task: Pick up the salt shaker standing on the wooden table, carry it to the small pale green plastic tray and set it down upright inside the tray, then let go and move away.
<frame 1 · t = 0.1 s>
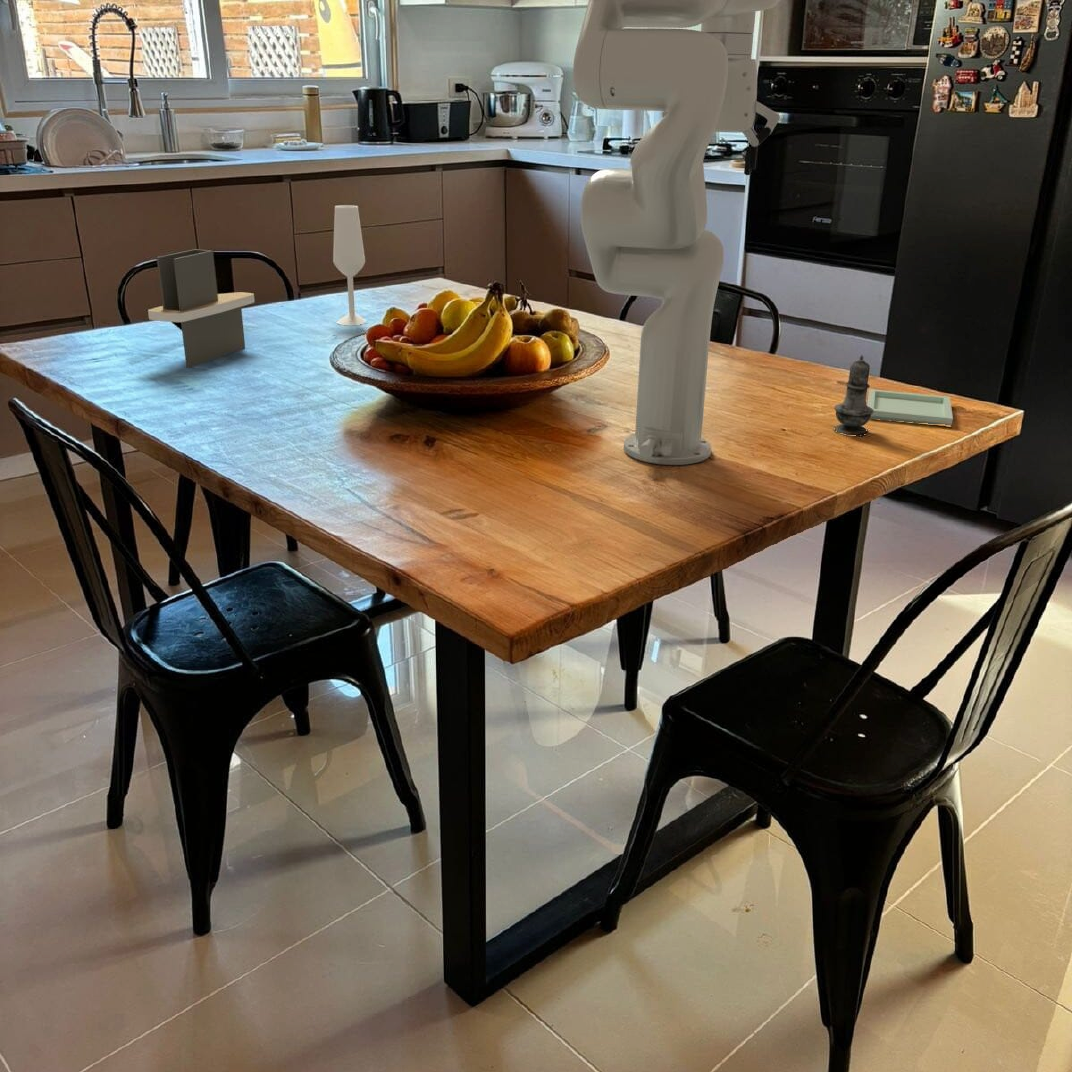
hand: (715, 172, 159), 37 cm above the table, tool pointing down, fingers open, 9 cm apart
architectural model: (209, 359, 198), on the table
champagne flute: (352, 323, 227), on the table
salt shaker: (850, 432, 163), on the table
tray: (907, 412, 173), on the table
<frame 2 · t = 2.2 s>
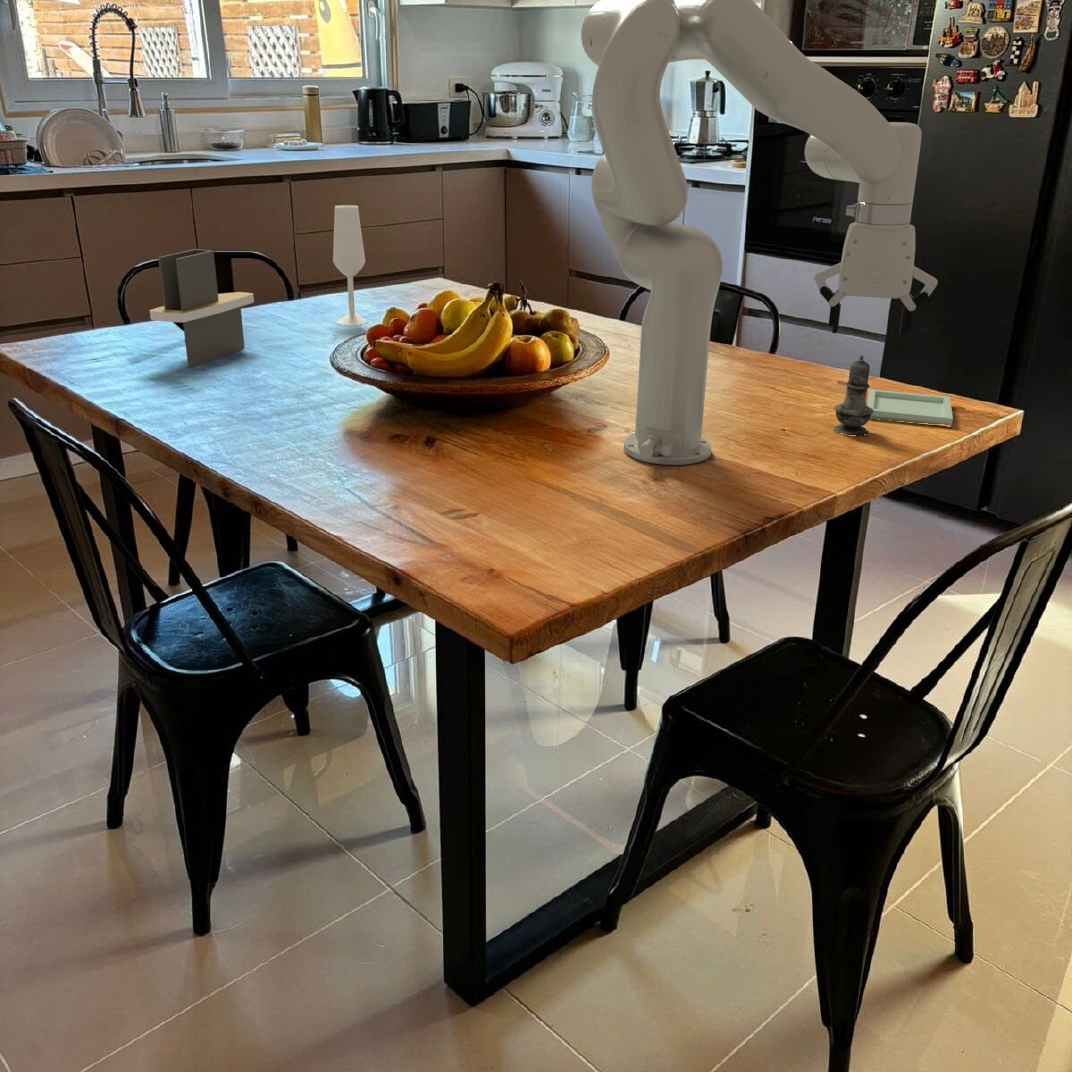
hand: (868, 333, 157), 15 cm above the table, tool pointing down, fingers open, 9 cm apart
nothing on the table moved.
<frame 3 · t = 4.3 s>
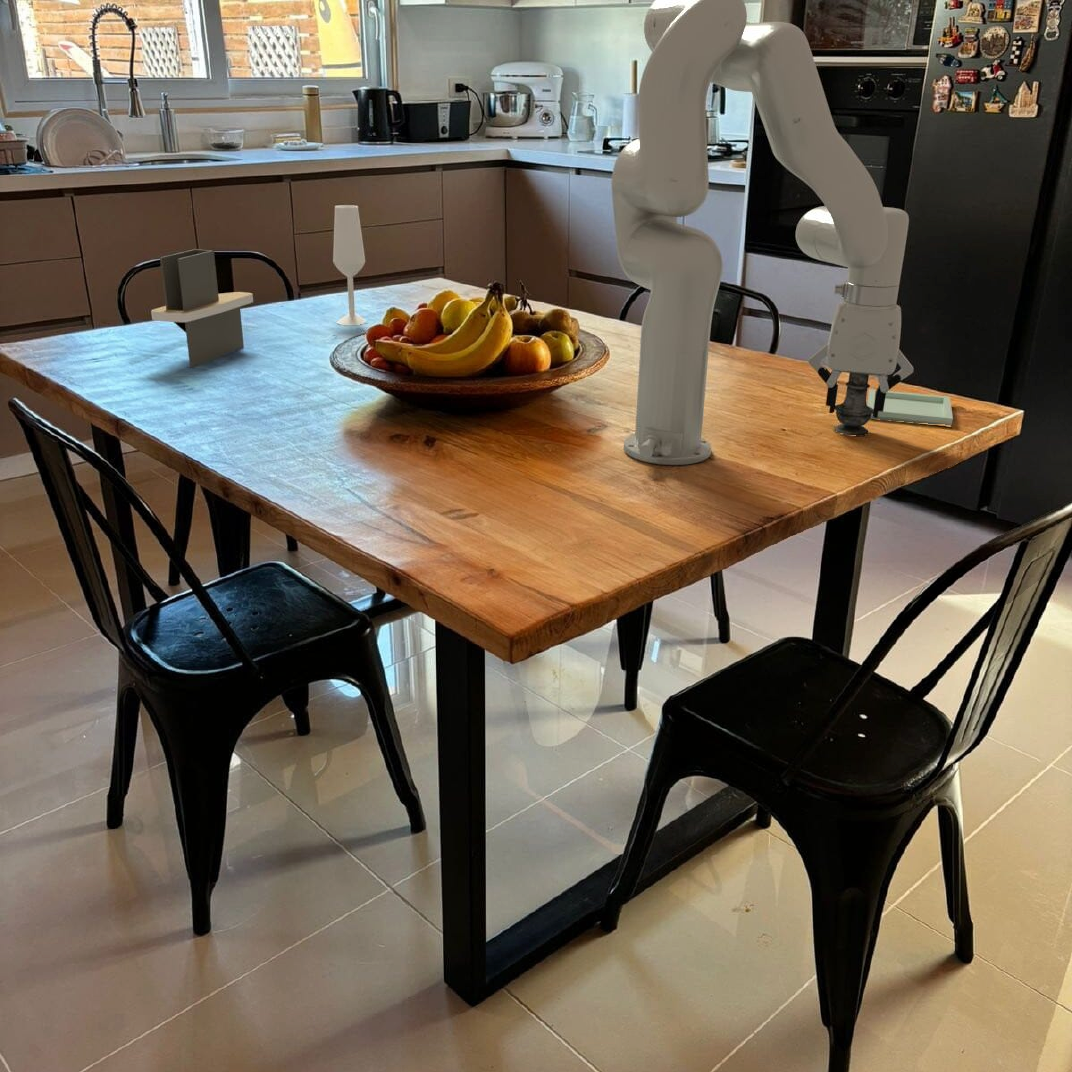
hand: (853, 411, 162), 3 cm above the table, tool pointing down, fingers closed on salt shaker, 5 cm apart
salt shaker: (850, 432, 163), on the table, touching gripper
everything else where it was.
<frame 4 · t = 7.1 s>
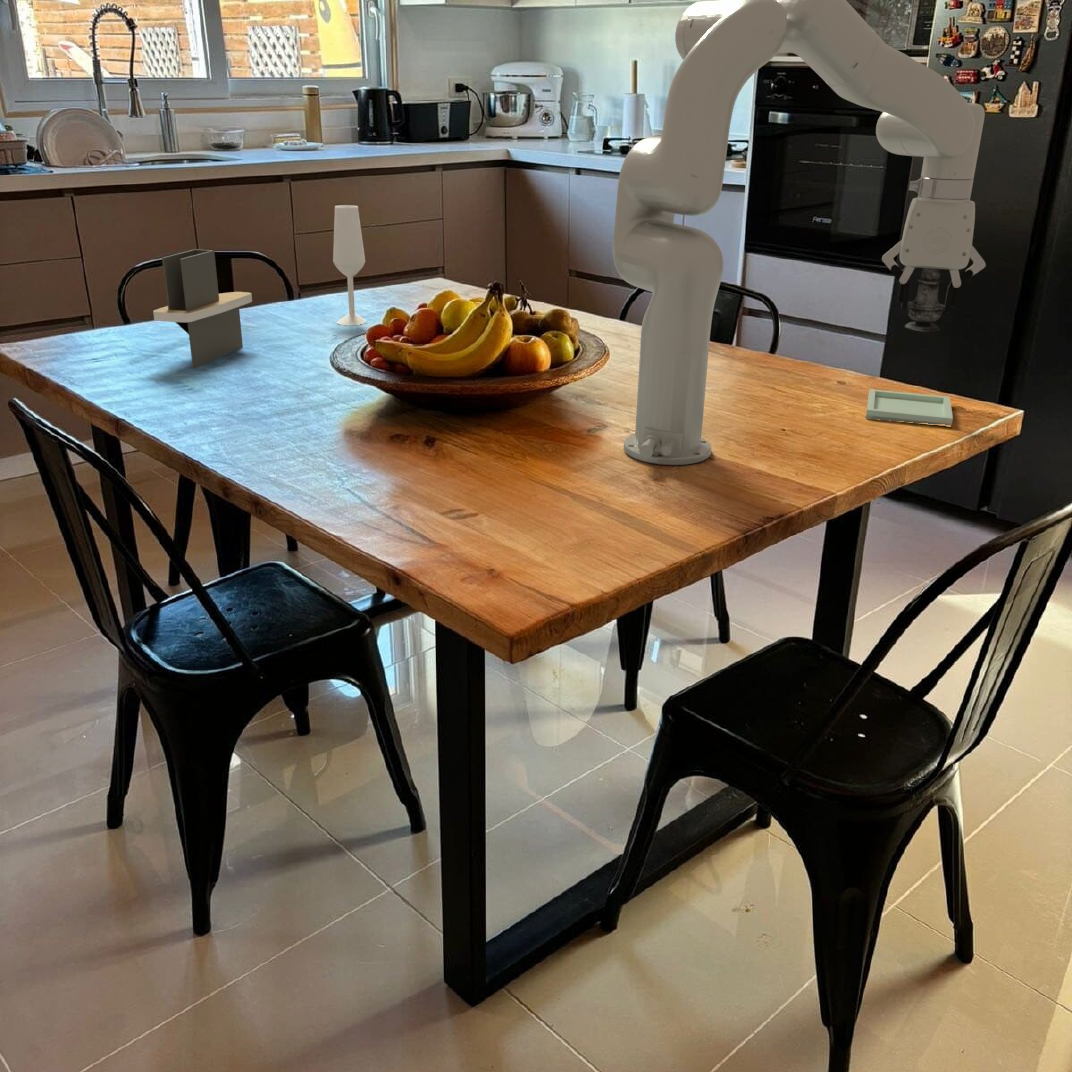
hand: (925, 308, 166), 17 cm above the table, tool pointing down, fingers closed on salt shaker, 5 cm apart
salt shaker: (921, 329, 168), point 14 cm above the table, touching gripper
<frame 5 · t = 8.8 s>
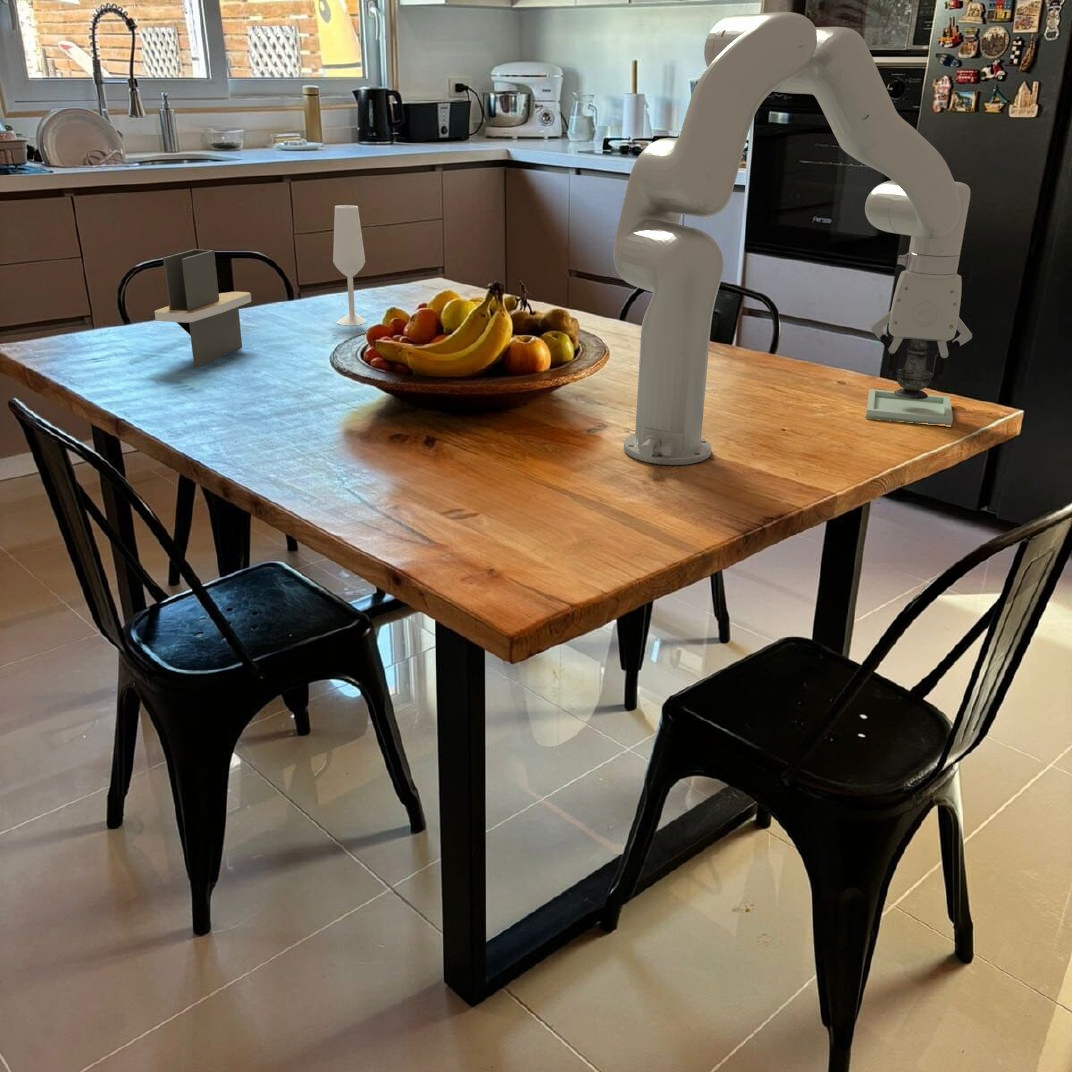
hand: (913, 376, 171), 6 cm above the table, tool pointing down, fingers closed on salt shaker, 5 cm apart
salt shaker: (910, 396, 172), point 3 cm above the table, touching gripper
when the fingers open (4 cm above the table, at t = 10.1 s): salt shaker stays where it is, resting on tray.
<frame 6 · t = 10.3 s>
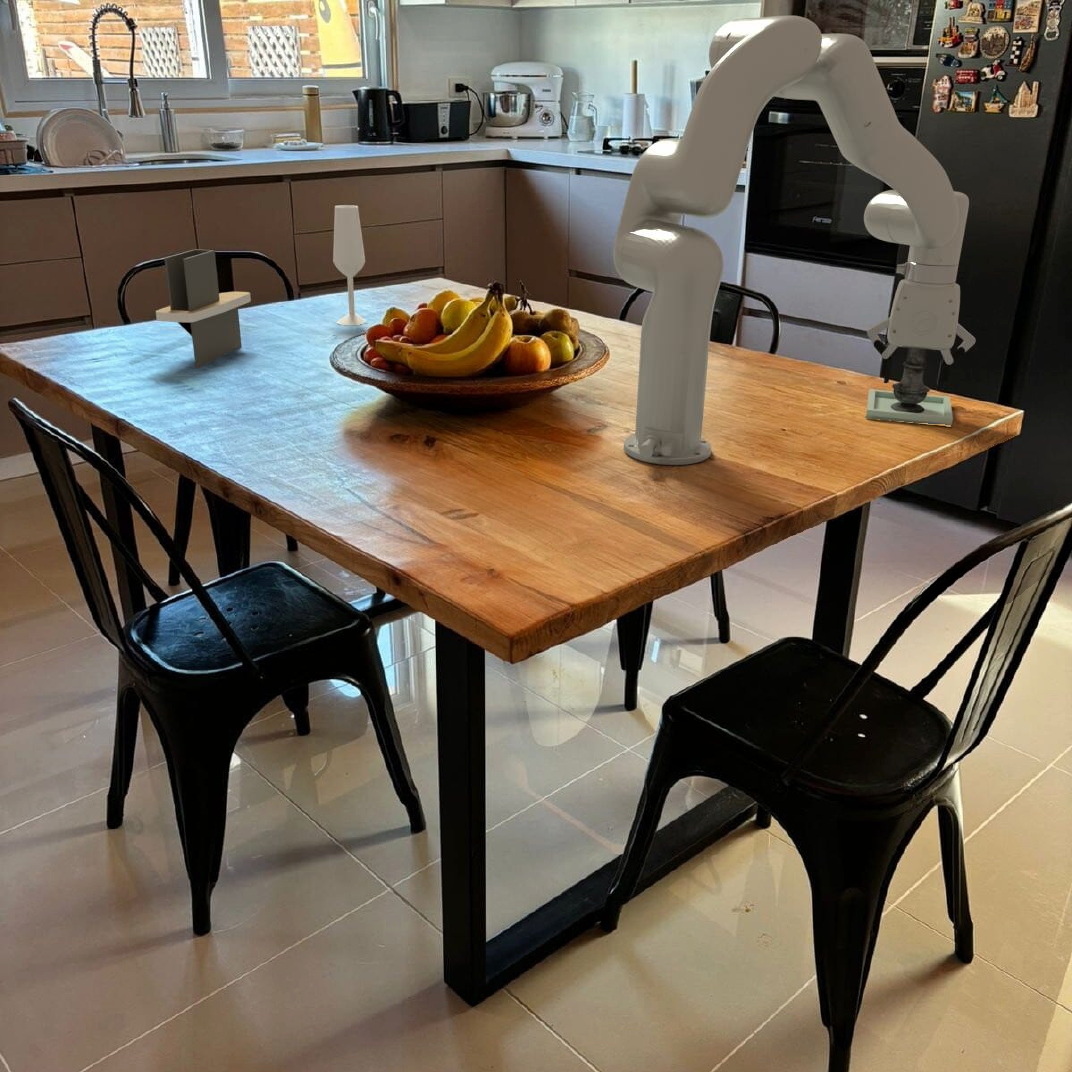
hand: (912, 383, 171), 5 cm above the table, tool pointing down, fingers open, 7 cm apart
salt shaker: (907, 409, 173), resting on tray
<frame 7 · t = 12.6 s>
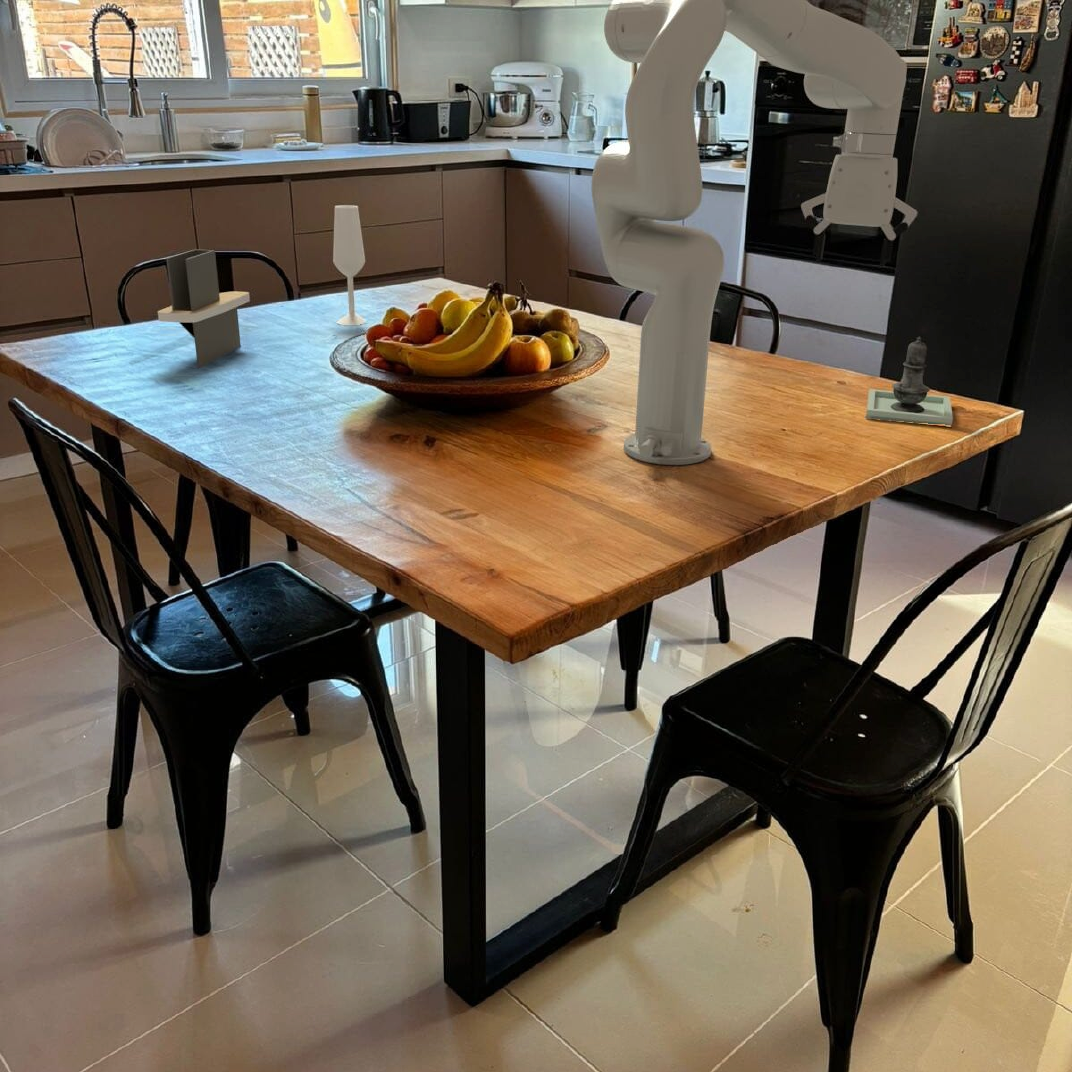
hand: (850, 262, 165), 24 cm above the table, tool pointing down, fingers open, 9 cm apart
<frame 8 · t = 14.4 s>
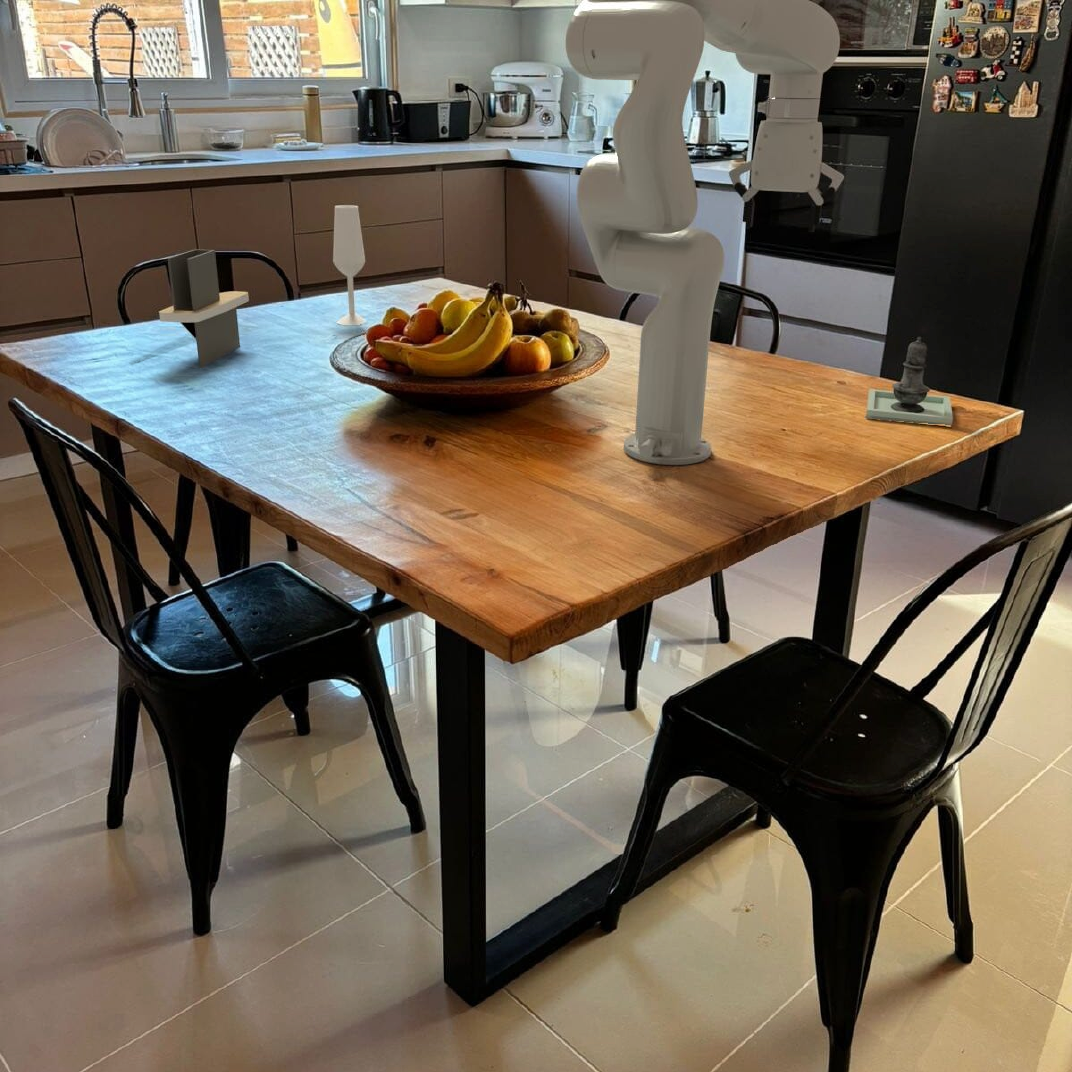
hand: (779, 229, 165), 28 cm above the table, tool pointing down, fingers open, 9 cm apart
at the end: salt shaker inside the target area on the tray (0.2 cm from its centre), point 0.4 cm above the tray's base; salt shaker tilted 0°; the gripper is holding nothing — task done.
